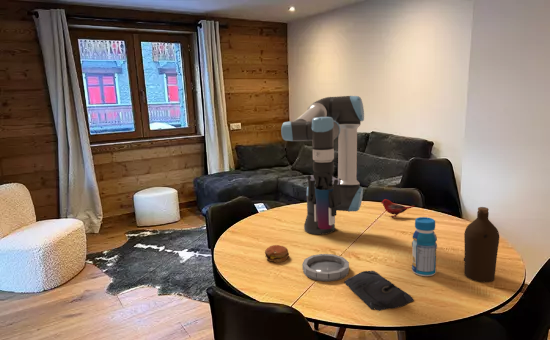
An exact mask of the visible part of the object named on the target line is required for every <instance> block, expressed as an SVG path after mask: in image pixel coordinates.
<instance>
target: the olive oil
mask: <svg viewBox="0 0 550 340" xmlns="http://www.w3.org/2000/svg"><path fill="white" fill-rule="evenodd" d="M499 244H500V233H499V229H498V228H497V227H496V226H495V225H494V224H493V223H492V221H491V220H490V219H489V208H488V207H484V206H480V207H477V215H476V218H475V219H474V220H473V221H472V222H470V223H469V224H468V225H467V226H466V228H465V230H464V257H463V262H464V270H463V272H464V276H465V277H466V278H467V279H469V280H470V281H474V282H479V283H491V282H493V281H494V280H495V278H496V277H495V276H496V269H497V259H498V252H499V251H498V250H499Z"/></svg>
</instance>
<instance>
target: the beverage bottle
mask: <svg viewBox="0 0 550 340" xmlns="http://www.w3.org/2000/svg"><path fill="white" fill-rule="evenodd" d="M414 227H415V231H414V232H413V233H412V239H413V240H412V242H411V247H412V255H411V256H412V260H411V261H412V262H411V270H412V273H414V274H416V275H417V276H420V277H432V276H434V275H435V274H436V272H437V269H436V266H437V249H438V244H437V241H438V240H437V239H438V238H437V234H436V233H435V229H436V220H435V219H434V218H431V217H427V216H426V217H425V216H422V217H421V216H420V217H416V218H415V220H414Z"/></svg>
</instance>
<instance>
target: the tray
mask: <svg viewBox="0 0 550 340" xmlns="http://www.w3.org/2000/svg"><path fill="white" fill-rule="evenodd" d="M301 266H302V270H303V274H304V275H305V276H306V277H307V278H309V279H311V280H314V281H319V282H335V281H340V280H343V279H344V278H346V277H347V276H348V275H349V271H350V270H349V268H350V262H349V261H348V260H347V259H346V258H345V257H344V256H340V255H336V254H332V253H320V254H312V255H310V256H308V257H306V258H304V259H303V261H302V265H301Z"/></svg>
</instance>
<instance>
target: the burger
mask: <svg viewBox="0 0 550 340" xmlns="http://www.w3.org/2000/svg"><path fill="white" fill-rule="evenodd" d="M264 253H265V258H266V259H267V261H269V262H274V263H276V264H277V263H282V262H285V261H286V260H287V259H288V257H289V256H290V255H289V254H290V253H289V249H288V247H285V246H284V245H280V244H274V245H270V246H269V247H267V248H266V249H265V251H264Z"/></svg>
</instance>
